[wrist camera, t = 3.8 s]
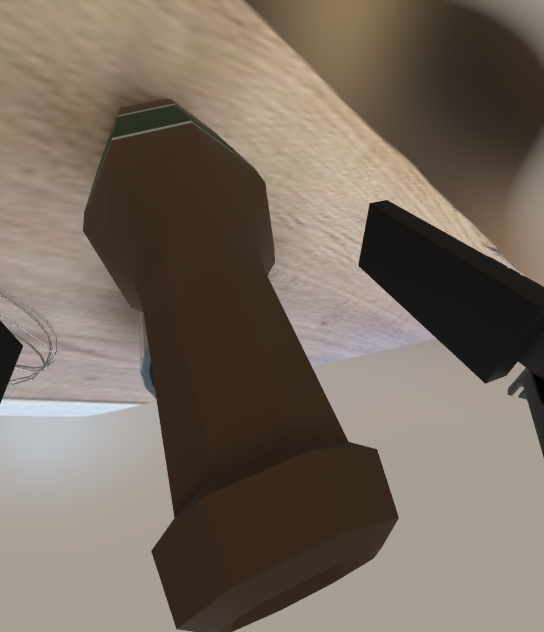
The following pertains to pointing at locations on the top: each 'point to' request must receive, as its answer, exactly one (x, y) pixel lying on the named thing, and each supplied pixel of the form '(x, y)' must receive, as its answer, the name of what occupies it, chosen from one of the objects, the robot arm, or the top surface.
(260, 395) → the beer bottle
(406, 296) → the robot arm
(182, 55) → the top surface
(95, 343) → the top surface
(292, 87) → the top surface
